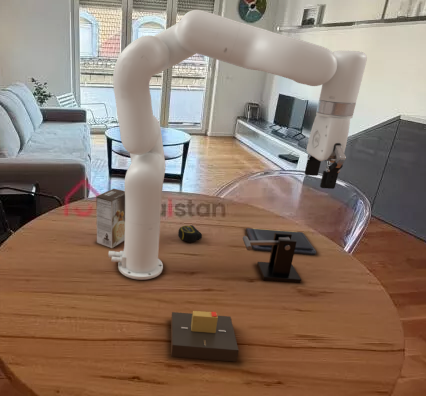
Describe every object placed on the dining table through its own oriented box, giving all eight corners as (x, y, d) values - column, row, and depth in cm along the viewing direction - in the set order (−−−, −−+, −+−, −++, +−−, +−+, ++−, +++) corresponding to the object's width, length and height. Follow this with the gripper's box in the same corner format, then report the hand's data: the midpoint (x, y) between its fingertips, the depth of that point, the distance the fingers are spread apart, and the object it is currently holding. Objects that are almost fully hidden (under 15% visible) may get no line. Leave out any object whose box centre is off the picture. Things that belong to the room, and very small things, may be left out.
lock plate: (171, 356, 73) (172, 344, 72) (170, 322, 83) (171, 311, 82) (236, 361, 73) (238, 349, 72) (228, 327, 82) (230, 315, 81)
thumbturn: (191, 331, 76) (193, 314, 75) (191, 326, 78) (192, 309, 76) (215, 333, 76) (218, 316, 74) (214, 327, 77) (217, 311, 76)
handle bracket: (263, 280, 100) (270, 242, 96) (256, 265, 108) (263, 229, 104) (300, 283, 100) (309, 245, 96) (291, 267, 107) (299, 231, 103)
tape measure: (202, 242, 119) (203, 232, 118) (182, 245, 117) (183, 234, 116) (193, 233, 125) (194, 223, 124) (174, 235, 123) (175, 225, 122)
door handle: (246, 252, 99) (246, 244, 98) (242, 241, 104) (242, 234, 103) (292, 251, 98) (293, 243, 97) (285, 241, 103) (286, 233, 103)
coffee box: (113, 232, 123) (114, 187, 117) (129, 237, 120) (130, 192, 114) (96, 243, 116) (95, 195, 110) (112, 249, 113) (113, 200, 107)
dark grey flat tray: (253, 244, 115) (246, 224, 130) (252, 250, 116) (245, 229, 130) (318, 251, 114) (304, 229, 128) (317, 256, 114) (303, 234, 128)
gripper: (304, 104, 91) (291, 170, 97) (335, 114, 75) (317, 192, 81) (335, 105, 91) (319, 171, 97) (372, 116, 75) (351, 194, 81)
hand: (318, 181), depth 89 cm, fingers open, 9 cm apart
